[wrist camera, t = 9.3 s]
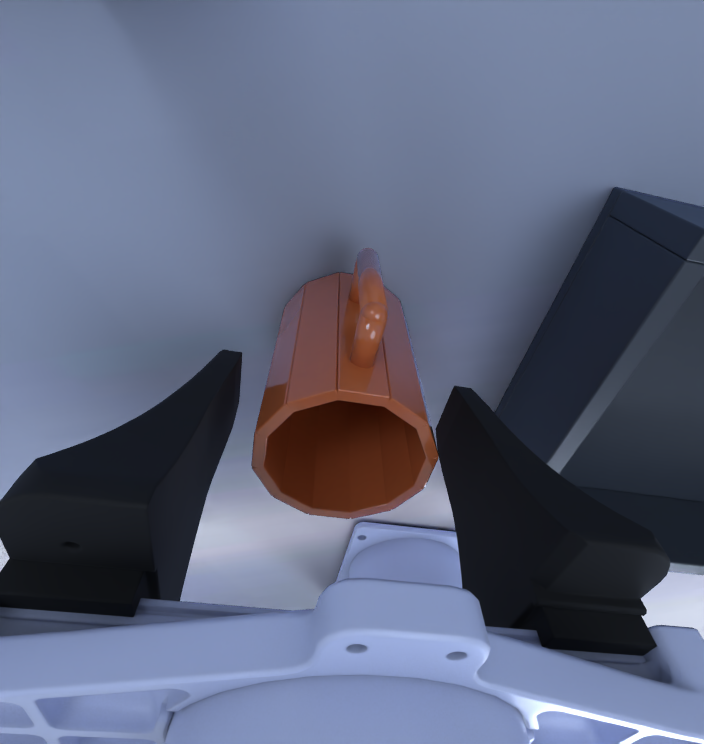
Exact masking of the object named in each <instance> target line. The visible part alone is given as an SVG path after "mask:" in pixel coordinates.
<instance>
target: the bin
mask: <svg viewBox="0 0 704 744" xmlns="http://www.w3.org/2000/svg"><path fill="white" fill-rule="evenodd" d="M495 414H496V415H497V417H498V418H499V419H500V420H501V421H502V422H503V423H504V424H505V425H506V426H507V427H508V428H509V429H510V430H511V431H512V432H513V433H514V434H515V435H516V436H517V437H518V438H519V439H520V440H521V441H522V442H523V443H524V444H525V445H526V446H527V447H528V448H529V449H530V450H531V451H532V452H533V453H534V454H536V455H537V456H538V457H539V458H540V459H541V460H542V461H544V462H545V463H546V464H547V465H548V466H550V467H551V468H552V469H553V470H555V471H556V472H557V473H558V474H560V475H561V476H562V477H564V478H565V479H566V480H568V481H569V482H571V483H572V484H573V485H575V486H576V487H578V488H579V489H580V490H582V491H583V492H585V493H586V494H588V495H589V496H591V497H592V498H594V499H595V500H597V501H599V502H600V503H602V504H604V505H605V506H607V507H609V508H610V509H612V510H613V511H615V512H617V513H619V514H621V515H622V516H624V517H626V518H628V519H630V520H632V521H634V522H635V523H637V524H639V525H641V526H643V527H645V528H647V529H649V530H650V531H652V532H653V534H654V536H655V537H656V539H657V540H658V542H659V543H660V545H661V546H662V548H663V549H664V551H665V553H666V554H667V556H668V557H669V559H670V568H669V571H668V572H677V573H687V574H697V575H704V207H701V206H697V205H692V204H688V203H684V202H679V201H675V200H671V199H666V198H662V197H658V196H653V195H649V194H645V193H640V192H636V191H632V190H627V189H623V188H619V187H615V188H614V189H613V191H612V193H611V195H610V197H609V198H608V200H607V202H606V204H605V206H604V208H603V210H602V212H601V214H600V215H599V217H598V219H597V221H596V223H595V225H594V227H593V229H592V230H591V232H590V234H589V236H588V238H587V240H586V242H585V244H584V246H583V247H582V249H581V251H580V253H579V255H578V257H577V259H576V261H575V263H574V264H573V266H572V268H571V270H570V272H569V274H568V276H567V278H566V280H565V281H564V283H563V285H562V287H561V289H560V291H559V293H558V295H557V297H556V298H555V300H554V302H553V304H552V306H551V308H550V310H549V312H548V313H547V315H546V317H545V319H544V321H543V323H542V325H541V327H540V329H539V330H538V332H537V334H536V336H535V338H534V340H533V342H532V344H531V346H530V347H529V349H528V351H527V353H526V355H525V357H524V359H523V361H522V363H521V364H520V366H519V368H518V370H517V372H516V374H515V376H514V378H513V380H512V381H511V383H510V385H509V387H508V389H507V391H506V393H505V395H504V396H503V398H502V400H501V402H500V404H499V406H498V408H497V410H496V412H495Z"/></svg>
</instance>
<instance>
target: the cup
mask: <svg viewBox="0 0 704 744" xmlns="http://www.w3.org/2000/svg"><path fill="white" fill-rule="evenodd" d="M437 460H438V451H437V447H436V442H435V438H434V434H433V430H432V426H431V422H430V417H429V413H428V409H427V405H426V401H425V396H424V392H423V388H422V384H421V380H420V375H419V371H418V367H417V363H416V359H415V355H414V350H413V346H412V342H411V338H410V334H409V329H408V326H407V322H406V319H405V315H404V312H403V309H402V305H401V302H400V301H399V299H398V298H397V297H396V296H395V295H394V294H392V293H391V292H390V291H389V290H388V289H386V288H385V287H384V285H383V280H382V274H381V268H380V263H379V257H378V254H377V253H376V251H374V250H373V249H371V248H365V249H363V250H361V251H360V252H359V253H358V255H357V259H356V264H355V268H354V273H353V274H347V273H342V272H340V274H339V272H338V273H335V274H332V275H328V276H325V277H322V278H319V279H316V280H313V281H310V282H307V283H306V284H304V285H303V286H302V288H301V289H300V290H299V291H298V292H297V293H296V294H295V296H294V297H293V298H292V299H291V300H290V301H289V302H288V304H287V305H286V306H285V308H284V312H283V316H282V320H281V324H280V328H279V333H278V337H277V341H276V345H275V349H274V354H273V358H272V362H271V366H270V370H269V375H268V379H267V383H266V387H265V391H264V395H263V400H262V404H261V408H260V412H259V416H258V421H257V425H256V429H255V433H254V442H253V453H252V464H251V466H252V469H253V471H254V472H255V473H256V475H257V476H258V478H259V479H260V480H261V482H262V483H263V485H264V486H265V487H266V489H267V490H268V492H269V493H270V495H271V496H273V497H274V498H276V499H278V500H280V501H282V502H284V503H286V504H288V505H290V506H292V507H294V508H296V509H298V510H300V511H302V512H304V513H306V514H308V513H309V515H317V516H327V517H336V518H345V519H350V517H351V519H354V518H358V517H363V516H367V515H372V514H377V513H381V512H386V511H390V510H391V509H395V508H396V507H398V506H399V505H401V504H402V503H404V502H405V501H406V500H408V499H409V498H411V497H412V496H414V495H415V494H417V493H418V492H420V491H421V490H423V488H425V486H426V484H427V482H428V479H429V477H430V475H431V473H432V471H433V469H434V467H435V464H436V462H437Z"/></svg>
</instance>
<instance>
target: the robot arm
mask: <svg viewBox="0 0 704 744" xmlns="http://www.w3.org/2000/svg"><path fill="white" fill-rule="evenodd" d="M241 366H242V352H235V351H229V350H222V351H220V352H219V353H218V354H217V355H216V356H215V357H214V358H213V359H212V360H211V361H210V362H209V363H208V364H207V365H206V366H205V367H204V368H203V369H202V370H201V371H200V372H198V373H197V374H196V375H195V376H194V377H193V378H192V379H190V380H189V381H188V382H187V383H186V384H185V385H183V386H182V387H181V388H179V389H178V390H177V391H176V392H174V393H173V394H172V395H170V396H169V397H168V398H166V399H165V400H163V401H162V402H161V403H159V404H158V405H156V406H155V407H153V408H152V409H150V410H148V411H147V412H145V413H144V414H142V415H140V416H138V417H137V418H135V419H133V420H131V421H129V422H127V423H125V424H123V425H121V426H119V427H118V428H116V429H114V430H111V431H109V432H107V433H105V434H103V435H100V436H98V437H96V438H93V439H91V440H88V441H86V442H83V443H81V444H78V445H76V446H73V447H70V448H67V449H64V450H61V451H58V452H55V453H52V454H49V455H46V456H43V457H40V458H37V459H35V461H34V462H33V463H32V464H31V465H30V466H29V467H28V468H27V469H26V470H25V471H24V472H23V473H22V474H21V476H20V477H19V478H18V479H17V480H16V482H15V483H14V484H13V485H12V487H11V488H10V489H9V491H8V492H7V493H6V494H5V496H4V497H3V498H2V500H1V501H0V538H1V540H2V543H3V545H4V547H5V549H6V551H7V553H8V555H9V557H10V559H9V560H8V562H7V563H6V564H5V566H4V567H3V569H2V570H1V572H0V744H704V640H703V638H702V637H701V635H700V633H699V632H698V630H697V629H694V628H689V627H678V626H666V625H656V626H652V627H649V628H647V626H646V624H645V622H644V620H643V618H642V617H641V615H642V616H644V615H645V614H646V611H647V610H646V608H645V606H644V604H643V602H642V601H641V598H642V597H643V596H644V595H645V594H646V593H648V592H649V591H650V590H651V589H652V588H654V587H655V586H656V585H657V584H658V583H660V582H661V581H662V580H663V578H664V577H665V576H666V575H667V573H668V571H669V568H670V559H669V557H668V556H667V554H666V553H665V551H664V549H663V548H662V546H661V545H660V543H659V542H658V540H657V539H656V537H655V536H654V534H653V532H652V531H650V530H649V529H647V528H645V527H643V526H641V525H639V524H637V523H635V522H634V521H632V520H630V519H628V518H626V517H624V516H622V515H621V514H619V513H617V512H615V511H613V510H612V509H610V508H609V507H607V506H605V505H604V504H602V503H600V502H599V501H597V500H595V499H594V498H592V497H591V496H589V495H588V494H586V493H585V492H583V491H582V490H580V489H579V488H578V487H576V486H575V485H573V484H572V483H571V482H569V481H568V480H566V479H565V478H564V477H562V476H561V475H560V474H558V473H557V472H556V471H555V470H553V469H552V468H551V467H550V466H548V465H547V464H546V463H545V462H544V461H542V460H541V459H540V458H539V457H538V456H537V455H536V454H534V453H533V452H532V451H531V450H530V449H529V448H528V447H527V446H526V445H525V444H524V443H523V442H522V441H521V440H520V439H519V438H518V437H517V436H516V435H515V434H514V433H513V432H512V431H511V430H510V429H509V428H508V427H507V426H506V425H505V424H504V423H503V422H502V421H501V420H500V419H499V418H498V417H497V415H496V414H495V413H494V412H493V411H492V410H491V409H490V408H489V407H488V406H487V404H486V403H485V402H484V401H483V400H482V399H481V398H480V397H479V396H478V395H477V394H476V393H475V392H474V391H473V390H472V389H471V388H465V387H459V386H454V388H453V390H452V392H451V395H450V397H449V399H448V402H447V404H446V406H445V409H444V411H443V413H442V415H441V418H440V420H439V422H438V425H437V427H436V438H437V448H438V456H439V460H440V464H441V468H442V472H443V476H444V480H445V484H446V488H447V492H448V496H449V500H450V504H451V508H452V512H453V517H454V522H455V528H456V532H452V531H443V530H434V529H425V528H415V527H406V526H397V525H388V524H379V523H370V522H360V523H358V524H356V526H355V528H354V531H353V534H352V537H351V539H350V542H349V545H348V548H347V551H346V554H345V557H344V560H343V563H342V565H341V568H340V571H339V574H338V577H337V580H336V583H333V584H331V585H329V586H328V587H327V588H326V589H325V590H324V592H323V593H322V594H321V595H320V596H319V598H318V601H317V605H316V608H315V609H306V610H294V611H292V610H280V609H267V608H255V607H243V606H231V605H218V604H206V603H194V602H182V601H180V597H181V593H182V589H183V585H184V580H185V577H186V573H187V569H188V565H189V561H190V557H191V553H192V549H193V545H194V541H195V537H196V533H197V530H198V526H199V522H200V518H201V515H202V511H203V507H204V504H205V500H206V496H207V493H208V490H209V487H210V484H211V481H212V479H213V476H214V474H215V471H216V469H217V466H218V464H219V461H220V459H221V456H222V453H223V451H224V448H225V446H226V443H227V441H228V438H229V435H230V433H231V430H232V428H233V424H234V420H235V416H236V412H237V408H238V404H239V397H240V381H241Z"/></svg>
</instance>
